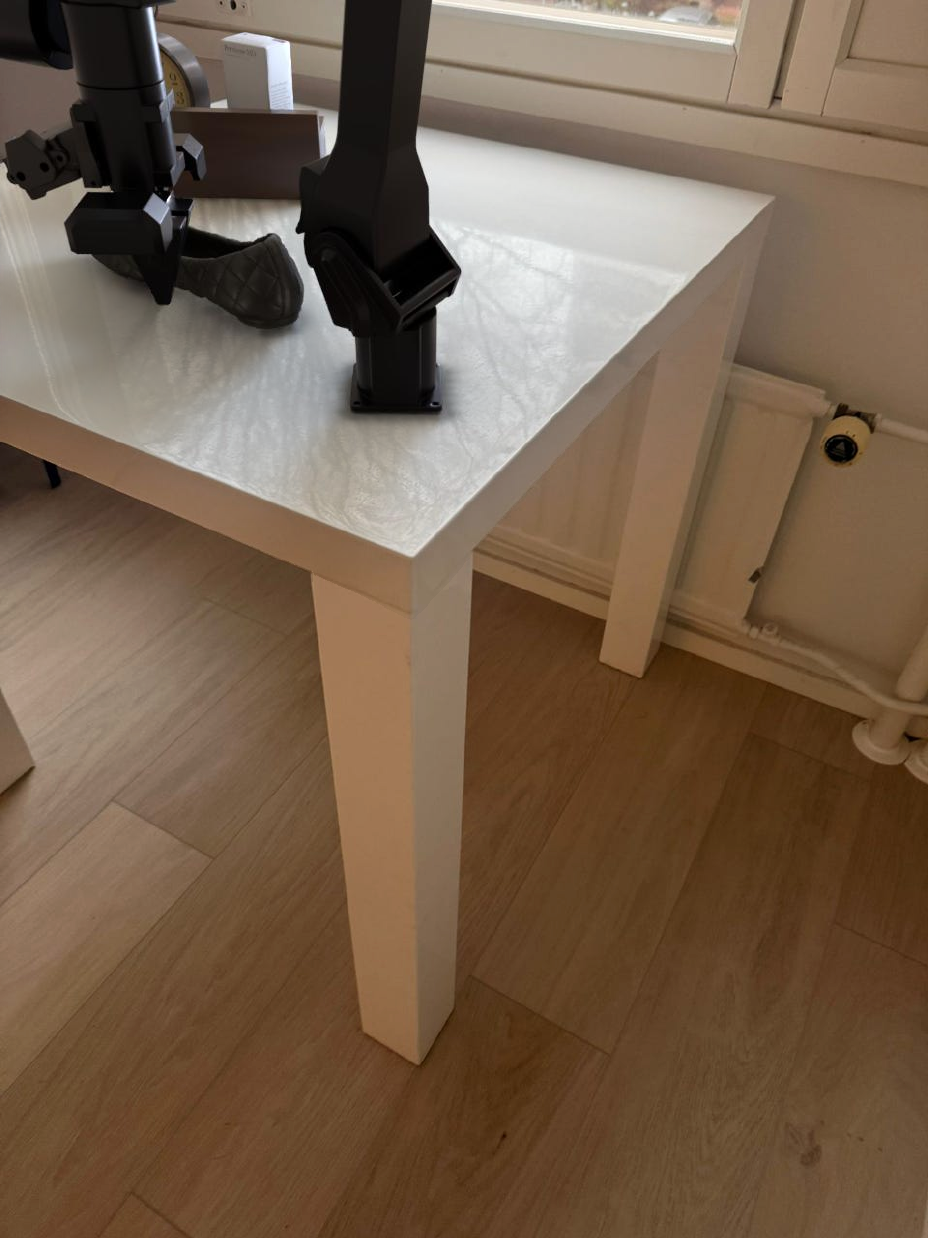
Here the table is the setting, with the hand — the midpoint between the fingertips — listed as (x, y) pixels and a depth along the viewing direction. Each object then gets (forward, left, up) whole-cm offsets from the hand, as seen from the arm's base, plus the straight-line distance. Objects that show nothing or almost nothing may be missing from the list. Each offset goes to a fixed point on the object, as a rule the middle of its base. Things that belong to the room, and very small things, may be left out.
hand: (164, 303), depth 72 cm
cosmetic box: (+40, -3, -2) cm, 40 cm away
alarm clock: (+42, +8, -2) cm, 42 cm away
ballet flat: (+7, -1, -2) cm, 8 cm away
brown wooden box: (+33, 0, -2) cm, 32 cm away
